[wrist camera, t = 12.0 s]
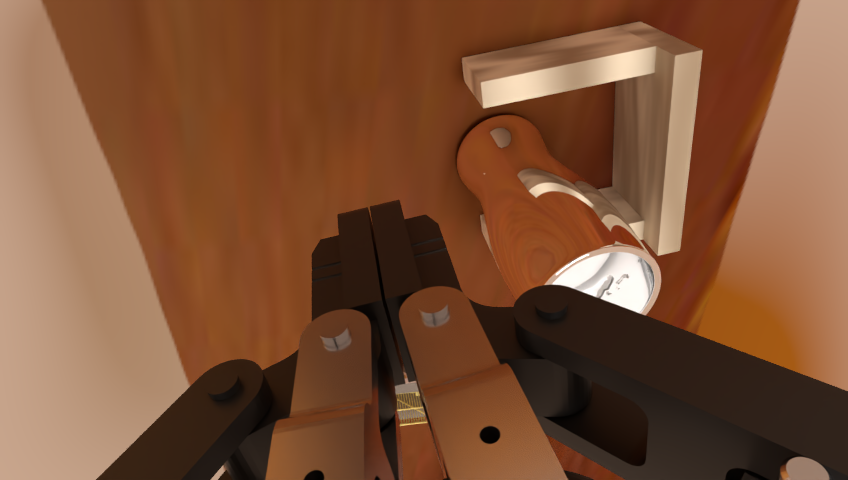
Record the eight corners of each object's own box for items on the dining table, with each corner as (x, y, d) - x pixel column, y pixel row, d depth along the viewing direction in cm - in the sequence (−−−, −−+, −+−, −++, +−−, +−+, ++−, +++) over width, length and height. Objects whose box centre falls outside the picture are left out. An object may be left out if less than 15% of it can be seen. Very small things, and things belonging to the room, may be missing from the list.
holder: (481, 232, 43) (508, 289, 37) (461, 57, 36) (489, 94, 30) (630, 199, 43) (679, 250, 37) (640, 21, 36) (702, 49, 30)
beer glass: (564, 121, 39) (693, 255, 27) (521, 206, 42) (619, 358, 30) (472, 95, 36) (570, 231, 24) (435, 189, 40) (504, 347, 28)
